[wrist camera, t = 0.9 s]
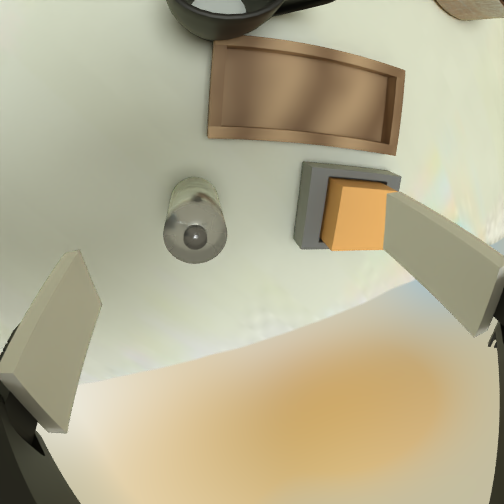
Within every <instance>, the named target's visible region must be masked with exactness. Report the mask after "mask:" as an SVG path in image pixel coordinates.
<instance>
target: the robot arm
mask: <svg viewBox="0 0 504 504" xmlns="http://www.w3.org/2000/svg"><path fill="white" fill-rule="evenodd" d="M383 249H384V250H385V251H386V252H387V253H388V254H389V255H390V256H392V257H393V258H394V259H395V260H396V261H397V262H398V263H399V264H400V265H401V266H403V267H404V268H405V269H406V270H407V271H408V272H409V273H410V274H411V275H412V276H413V277H414V278H415V279H417V280H418V281H419V282H420V283H421V284H422V285H423V286H424V287H425V288H426V289H427V290H428V291H429V292H430V293H431V294H432V295H433V296H434V297H435V298H436V299H437V300H438V301H440V303H441V304H442V305H443V306H444V307H445V308H446V309H447V310H448V311H449V312H450V313H451V314H452V315H453V316H454V317H455V318H456V319H457V320H458V321H459V322H460V323H461V324H462V325H463V326H464V327H465V328H466V329H467V331H468V332H470V333H471V335H472V336H473V337H477V336H478V335H480V334H482V333H484V332H485V331H487V330H488V328H489V325H490V323H491V321H492V318H493V316H494V317H495V318H496V319H497V320H498V323H497V325H496V327H495V329H494V332H493V334H492V336H491V338H490V340H489V343H488V347H491V344H492V342H493V341H494V340H496V341H497V342H496V344H495V346H494V348H497V351H498V363H499V383H500V418H499V419H500V420H499V421H500V422H499V438H498V450H497V460H496V467H495V474H494V481H493V487H492V493H491V497H490V502H489V504H504V256H503V255H502V254H500V253H499V252H497V251H496V250H494V249H493V248H492V247H490V246H489V245H487V244H486V243H484V242H483V241H482V240H480V239H479V238H477V237H475V236H474V235H472V234H471V233H469V232H468V231H466V230H465V229H463V228H462V227H460V226H458V225H457V224H455V223H454V222H452V221H450V220H449V219H447V218H445V217H444V216H442V215H440V214H439V213H437V212H435V211H434V210H432V209H430V208H429V207H427V206H425V205H423V204H422V203H420V202H418V201H416V200H414V199H413V198H411V197H409V196H407V195H405V194H403V193H402V192H394V193H387V198H386V216H385V231H384V243H383ZM101 306H102V303H101V301H100V298H99V296H98V294H97V292H96V289H95V287H94V285H93V282H92V280H91V277H90V275H89V272H88V270H87V267H86V265H85V262H84V260H83V257H82V254H81V252H80V250H77V251H72V252H68V253H65V254H64V255H63V256H62V258H61V259H60V261H59V262H58V264H57V265H56V267H55V268H54V270H53V271H52V273H51V274H50V276H49V277H48V279H47V280H46V282H45V283H44V285H43V286H42V288H41V289H40V291H39V293H38V294H37V296H36V297H35V299H34V301H33V302H32V304H31V306H30V307H29V309H28V311H27V312H26V314H25V316H24V318H23V319H22V321H21V323H20V324H19V325H18V326H17V327H16V328H15V329H14V331H13V332H12V334H11V336H10V338H9V339H8V341H7V342H8V343H7V344H6V345H5V347H4V349H3V352H2V353H1V355H0V504H80V502H79V501H78V499H77V498H76V496H75V495H74V493H73V492H72V490H71V489H70V487H69V486H68V484H67V482H66V481H65V479H64V477H63V476H62V474H61V472H60V471H59V469H58V467H57V465H56V464H55V462H54V460H53V458H52V456H51V454H50V453H49V451H48V449H47V447H46V445H45V443H44V441H43V439H42V437H41V436H40V435H39V433H38V432H37V431H36V426H37V422H38V423H39V424H40V425H41V426H42V427H43V428H44V429H46V431H47V432H51V433H67V431H68V426H69V420H70V416H71V411H72V407H73V403H74V398H75V394H76V390H77V386H78V382H79V378H80V374H81V371H82V367H83V364H84V360H85V357H86V353H87V350H88V346H89V343H90V340H91V337H92V333H93V330H94V327H95V324H96V321H97V318H98V315H99V312H100V309H101Z"/></svg>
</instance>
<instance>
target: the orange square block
mask: <svg viewBox="0 0 504 504" xmlns="http://www.w3.org/2000/svg"><path fill="white" fill-rule="evenodd" d="M394 192H398V191H396V190H394V189H392V188H391V187H389V186H387V185H385V184H383V183H381V182H375V181H365V180H355V179H344V178H331V177H329V178H328V185H327V192H326V199H325V206H324V212H323V218H322V224H321V230H320V236H319V237H320V238H321V240H322V241H323V242H324V243H325V244H326V245H327V246H328V248H329V249H330V250H331V251H346V250H384V249H383V243H384V231H385V216H386V198H387V193H394Z"/></svg>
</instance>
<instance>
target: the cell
mask: <svg viewBox="0 0 504 504" xmlns="http://www.w3.org/2000/svg"><path fill="white" fill-rule="evenodd" d="M163 237H164V242H165V245H166V247H167V249H168V250H169V252H170V253H171V254H172V255H173V256H174V257H176V258H177V259H179V260H181V261H183V262H186V263H192V264H197V263H204V262H207V261H209V260H211V259H213V258H214V257H216V256H217V255H218V254H219V253H220V252H221V251H222V249H223V247H224V246H225V243H226V240H227V228H226V224H225V220H224V217H223V213H222V209H221V206H220V202H219V198H218V194H217V191H216V189H215V188H214V186H213V185H212V184H211V183H210V182H209V181H207V180H205V179H202V178H198V177H191V178H187V179H185V180H183V181H181V182H180V183H178V184H177V185H176V187H175V188H174V190H173V192H172V195H171V199H170V203H169V208H168V212H167V217H166V222H165V226H164V232H163Z"/></svg>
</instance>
